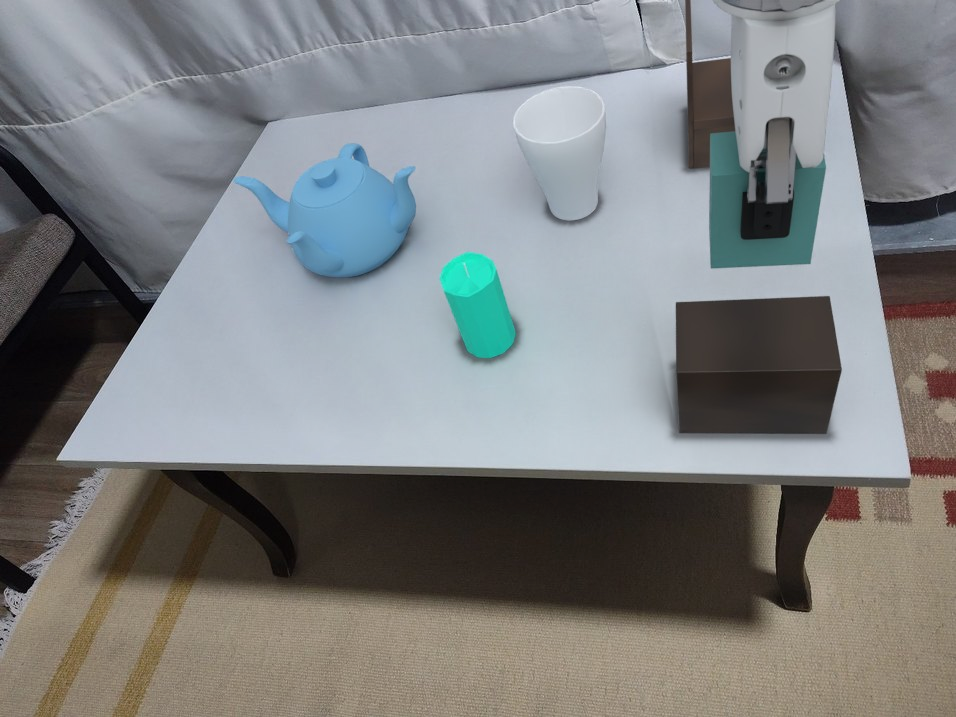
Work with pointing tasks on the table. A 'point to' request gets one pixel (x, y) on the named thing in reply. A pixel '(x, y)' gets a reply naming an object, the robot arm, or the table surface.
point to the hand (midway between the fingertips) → (761, 208)
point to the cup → (564, 146)
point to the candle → (478, 304)
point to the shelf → (706, 100)
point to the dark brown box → (756, 365)
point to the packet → (727, 209)
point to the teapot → (342, 213)
